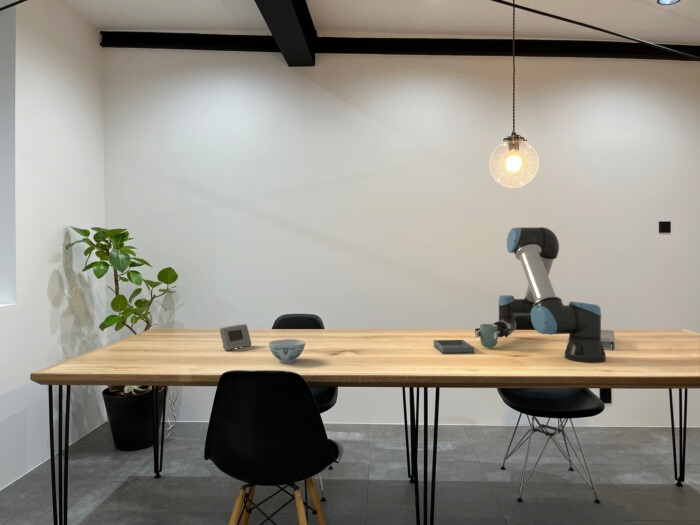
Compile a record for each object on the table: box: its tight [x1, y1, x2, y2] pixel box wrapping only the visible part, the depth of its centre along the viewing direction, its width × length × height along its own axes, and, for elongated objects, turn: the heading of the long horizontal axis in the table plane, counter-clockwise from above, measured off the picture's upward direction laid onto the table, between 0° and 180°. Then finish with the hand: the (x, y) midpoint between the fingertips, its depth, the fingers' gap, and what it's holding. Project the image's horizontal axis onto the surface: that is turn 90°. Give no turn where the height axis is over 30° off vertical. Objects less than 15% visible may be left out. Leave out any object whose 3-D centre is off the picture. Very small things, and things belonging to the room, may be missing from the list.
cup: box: [479, 323, 499, 348], centre depth 217 cm, size 8×8×10 cm
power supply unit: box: [601, 329, 616, 351], centre depth 229 cm, size 19×33×5 cm, turn 152°
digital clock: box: [219, 323, 252, 351], centre depth 224 cm, size 16×9×11 cm, turn 133°
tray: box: [433, 339, 475, 355], centre depth 216 cm, size 18×14×3 cm
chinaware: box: [268, 338, 306, 364], centre depth 196 cm, size 15×15×8 cm
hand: (485, 335), depth 213 cm, fingers closed on cup, 8 cm apart
